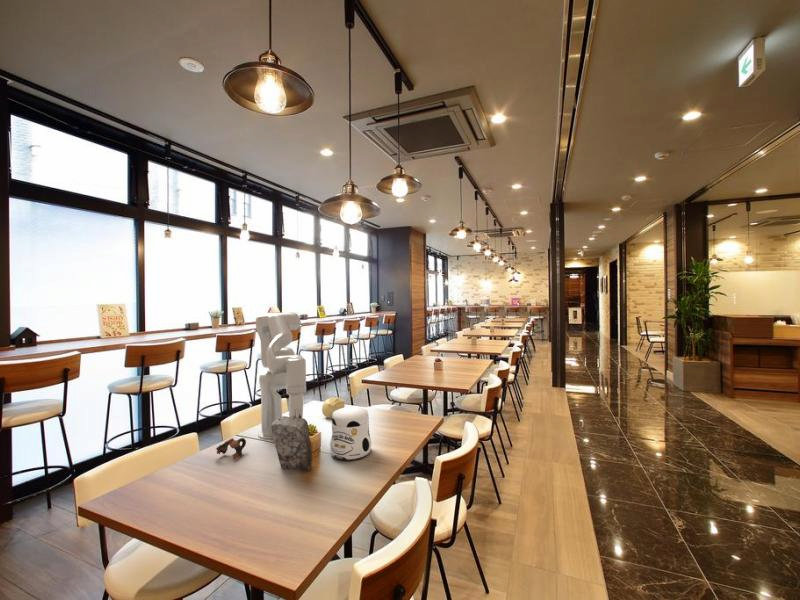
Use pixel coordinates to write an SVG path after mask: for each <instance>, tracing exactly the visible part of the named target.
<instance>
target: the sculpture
mask: <svg viewBox="0 0 800 600" xmlns="http://www.w3.org/2000/svg"><path fill="white" fill-rule="evenodd" d="M345 404H346V403H345V401H344V400H343V399H342V398H339V397H336V396H333V397H330V398H327V399H326V400H325V401H324V402H323V404H322V407H321V412H322V415H323V416H324V417H325V418H327V419H332V415H333V412H334V411H336V410H338V409H342V408H345V407H346V406H345Z"/></svg>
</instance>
